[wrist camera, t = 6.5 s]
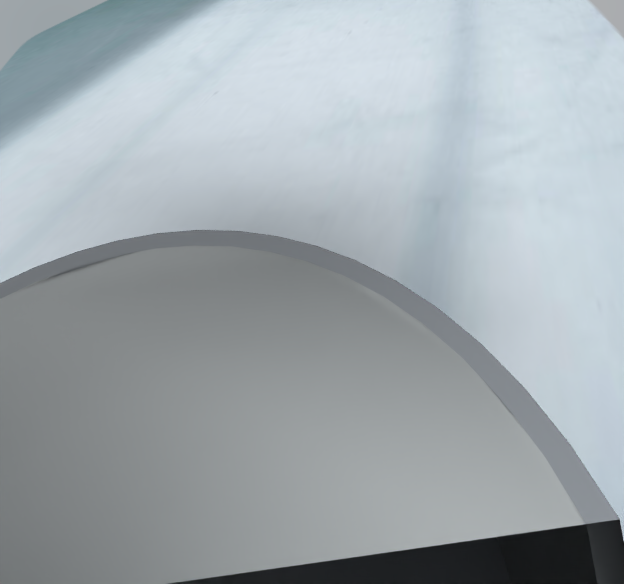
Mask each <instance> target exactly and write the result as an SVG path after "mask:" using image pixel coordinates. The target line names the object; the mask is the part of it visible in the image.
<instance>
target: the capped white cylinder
mask: <svg viewBox="0 0 624 584" xmlns="http://www.w3.org/2000/svg"><path fill="white" fill-rule="evenodd" d="M0 584H624V541H623V536H622V530H621V525H620V519H619V518H618V516H617V514H616V513H615V511H614V510H613V508H612V507H611V505H610V504H609V502H608V501H607V499H606V498H605V496H604V495H603V493H602V492H601V490H600V489H599V487H598V486H597V484H596V483H595V481H594V480H593V478H592V477H591V475H590V474H589V472H588V471H587V469H586V468H585V466H584V465H583V463H582V462H581V460H580V458H579V457H578V455H577V454H576V452H575V451H574V449H573V448H572V446H571V445H570V444H569V442H568V441H567V440H566V439H565V437H564V436H563V435H562V434H561V432H560V431H559V430H558V429H557V428H556V426H555V425H554V424H553V423H552V421H551V420H550V419H549V418H548V416H547V415H546V414H545V413H544V411H543V410H542V409H541V408H540V406H539V405H538V404H537V403H536V401H535V400H534V399H533V398H532V396H531V395H530V394H529V393H528V392H527V390H526V389H525V388H524V387H523V386H522V385H521V384H520V383H519V382H518V381H517V380H516V379H515V378H514V377H513V376H512V375H511V374H510V373H509V372H508V371H507V370H506V369H505V368H504V367H503V366H502V365H501V363H500V362H499V361H498V360H497V359H496V358H495V357H494V356H493V355H492V354H491V353H490V352H489V351H488V350H487V349H486V348H485V347H484V346H483V345H482V344H481V343H480V342H478V341H477V340H476V339H475V338H474V337H472V336H471V335H470V334H469V333H468V332H466V331H465V330H464V329H463V328H461V327H460V326H459V325H458V324H457V323H455V322H454V321H453V320H452V319H450V318H449V317H448V316H447V315H446V314H444V313H443V312H442V311H441V310H440V309H438V308H437V307H435V306H434V305H432V304H431V303H429V302H428V301H426V300H425V299H423V298H422V297H420V296H419V295H417V294H415V293H414V292H412V291H411V290H409V289H408V288H406V287H405V286H403V285H402V284H400V283H399V282H397V281H395V280H393V279H391V278H389V277H387V276H386V275H384V274H382V273H380V272H378V271H376V270H374V269H372V268H370V267H368V266H366V265H364V264H362V263H360V262H358V261H356V260H353V259H350V258H348V257H345V256H342V255H339V254H337V253H334V252H331V251H329V250H326V249H323V248H321V247H318V246H315V245H311V244H307V243H302V242H298V241H294V240H290V239H286V238H282V237H278V236H272V235H264V234H256V233H249V232H241V231H215V230H193V231H181V232H168V233H157V234H152V235H146V236H140V237H135V238H129V239H124V240H118V241H114V242H111V243H107V244H103V245H100V246H96V247H92V248H89V249H85V250H82V251H78V252H75V253H72V254H70V255H67V256H64V257H61V258H59V259H56V260H53V261H51V262H48V263H45V264H42V265H40V266H37V267H34V268H32V269H30V270H28V271H26V272H23V273H21V274H19V275H17V276H15V277H13V278H10V279H8V280H6V281H4V282H2V283H0Z"/></svg>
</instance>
